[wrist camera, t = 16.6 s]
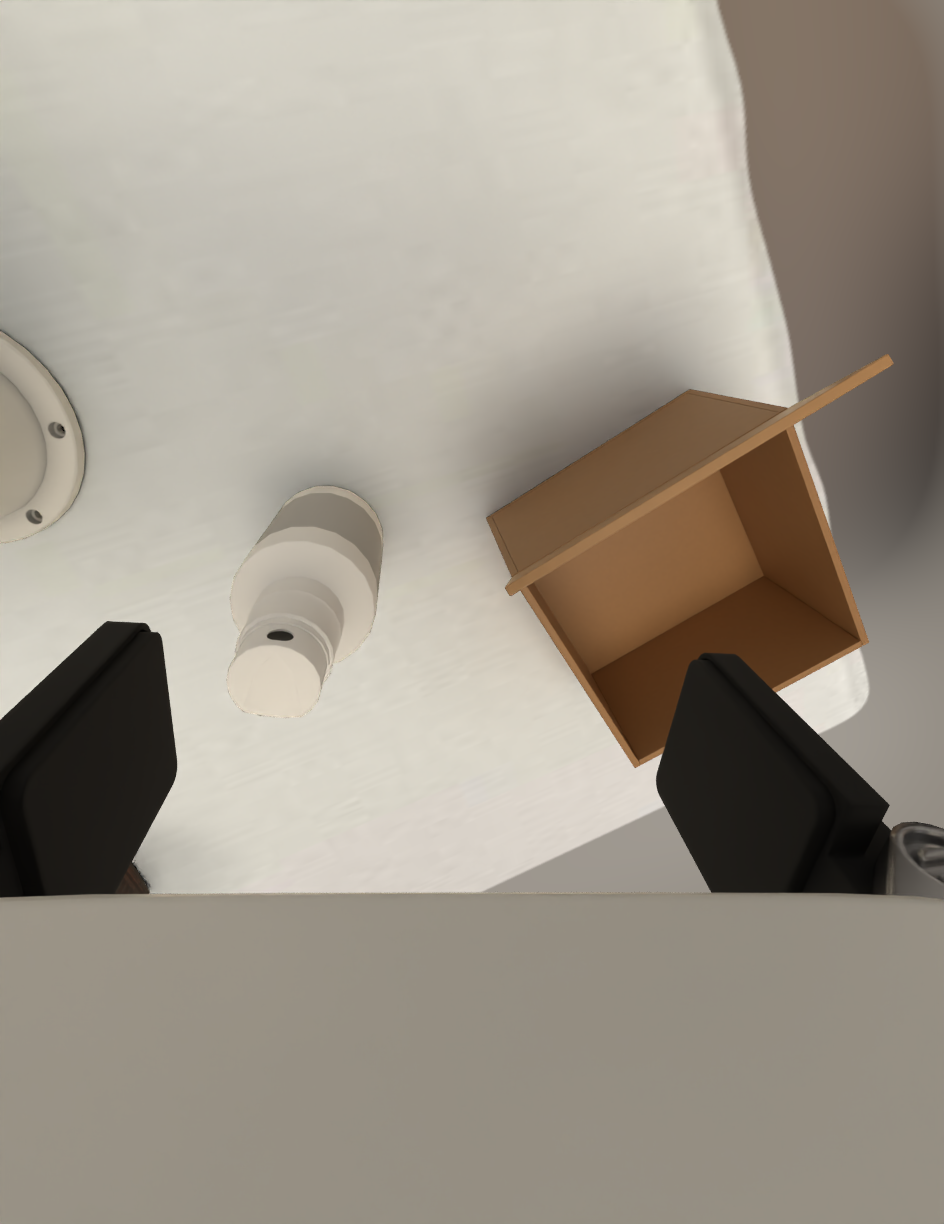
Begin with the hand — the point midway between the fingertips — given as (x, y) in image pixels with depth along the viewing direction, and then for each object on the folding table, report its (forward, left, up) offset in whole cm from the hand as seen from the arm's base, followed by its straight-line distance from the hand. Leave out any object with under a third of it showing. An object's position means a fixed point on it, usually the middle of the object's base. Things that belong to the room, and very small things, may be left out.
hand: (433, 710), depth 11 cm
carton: (+14, +9, -29) cm, 33 cm away
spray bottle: (+2, -8, -29) cm, 30 cm away
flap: (+5, +9, -14) cm, 17 cm away
